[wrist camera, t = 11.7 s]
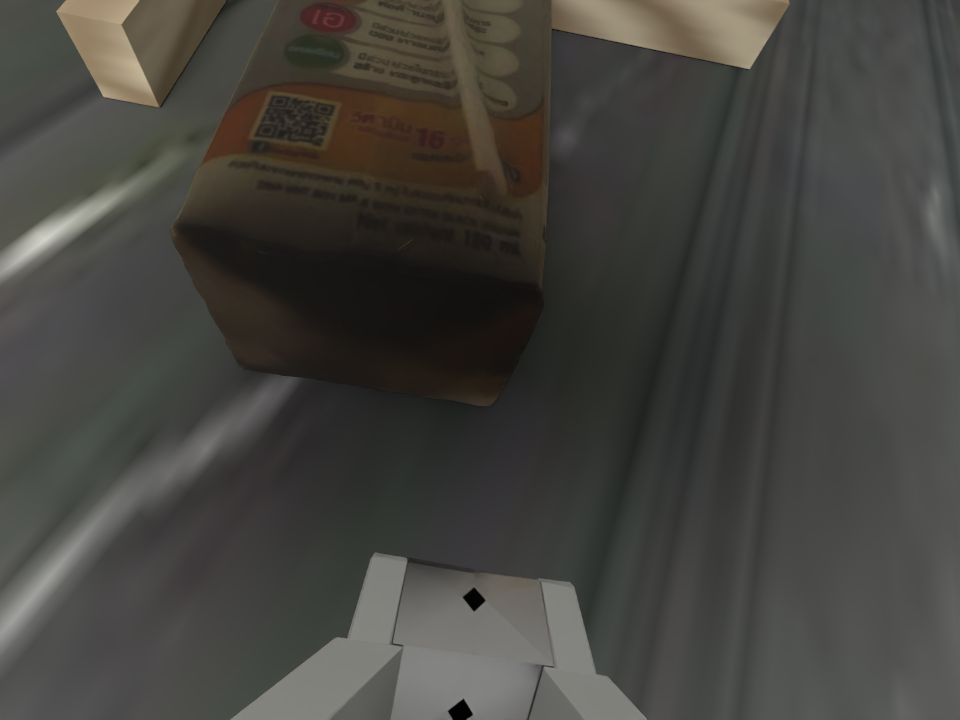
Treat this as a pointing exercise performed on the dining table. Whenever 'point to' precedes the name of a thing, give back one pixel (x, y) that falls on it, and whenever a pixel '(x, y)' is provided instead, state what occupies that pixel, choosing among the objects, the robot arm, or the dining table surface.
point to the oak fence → (575, 8)
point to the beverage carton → (380, 195)
